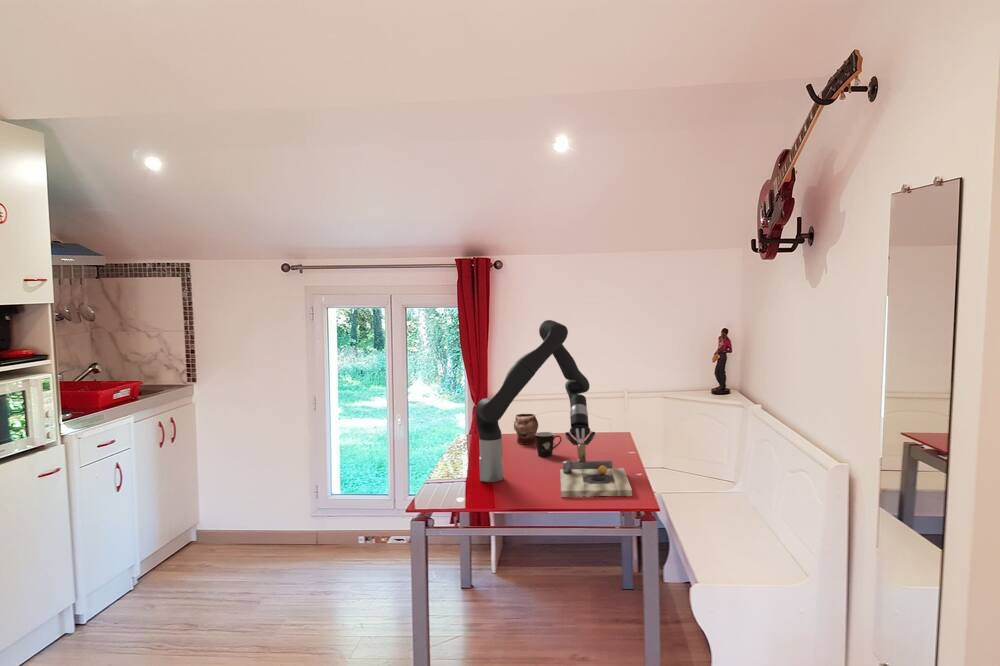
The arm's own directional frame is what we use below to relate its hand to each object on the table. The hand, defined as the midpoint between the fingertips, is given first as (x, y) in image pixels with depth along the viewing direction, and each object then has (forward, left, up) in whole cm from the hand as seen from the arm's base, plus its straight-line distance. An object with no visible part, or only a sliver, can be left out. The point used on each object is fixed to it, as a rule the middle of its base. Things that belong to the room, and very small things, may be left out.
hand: (581, 452), depth 272 cm
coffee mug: (-14, +32, -10) cm, 36 cm away
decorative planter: (-25, +59, -10) cm, 64 cm away
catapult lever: (+2, -4, -7) cm, 8 cm away
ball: (+8, -7, -5) cm, 12 cm away
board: (+4, -14, -9) cm, 17 cm away
